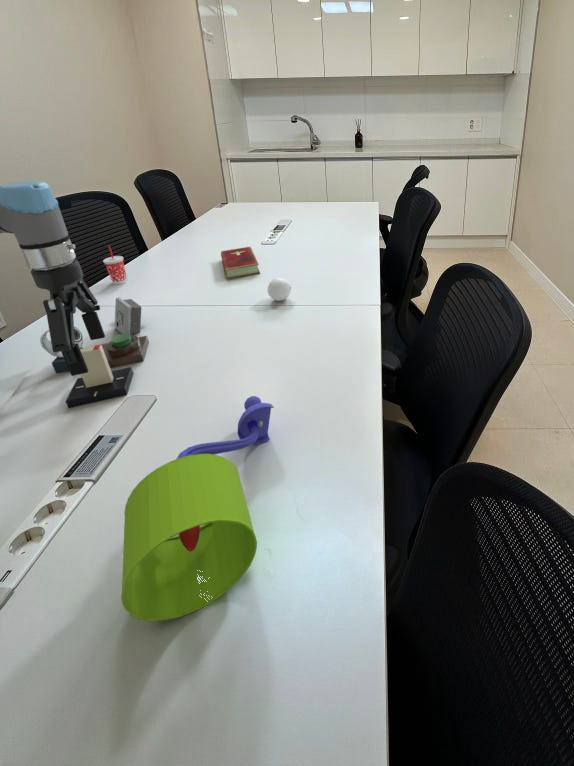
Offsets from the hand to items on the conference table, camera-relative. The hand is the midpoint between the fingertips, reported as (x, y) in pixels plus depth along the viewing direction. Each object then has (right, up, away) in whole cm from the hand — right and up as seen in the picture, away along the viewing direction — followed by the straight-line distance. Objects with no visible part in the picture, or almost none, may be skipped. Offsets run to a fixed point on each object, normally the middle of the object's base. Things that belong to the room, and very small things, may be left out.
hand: (89, 354), depth 83 cm
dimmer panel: (0, -9, +4) cm, 10 cm away
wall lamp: (+36, -19, -20) cm, 46 cm away
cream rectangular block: (0, -7, +3) cm, 8 cm away
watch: (-14, -6, +13) cm, 20 cm away
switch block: (-4, -4, +15) cm, 16 cm away
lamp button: (-2, 0, +15) cm, 15 cm away
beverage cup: (-31, +14, +58) cm, 68 cm away
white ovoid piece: (+31, +9, +43) cm, 54 cm away
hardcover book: (+9, +20, +68) cm, 72 cm away
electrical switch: (-8, +1, +28) cm, 29 cm away
